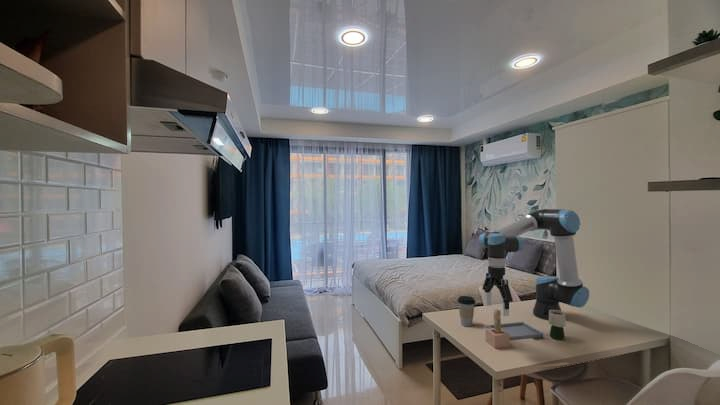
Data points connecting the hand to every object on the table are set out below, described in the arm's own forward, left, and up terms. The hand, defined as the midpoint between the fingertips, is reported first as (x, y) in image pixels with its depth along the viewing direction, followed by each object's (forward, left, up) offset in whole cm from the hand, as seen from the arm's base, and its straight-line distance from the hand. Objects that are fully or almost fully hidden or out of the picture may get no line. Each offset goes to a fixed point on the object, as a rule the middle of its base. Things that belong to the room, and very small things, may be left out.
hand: (496, 310), depth 148 cm
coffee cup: (+2, -26, -18) cm, 31 cm away
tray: (-16, -10, -17) cm, 26 cm away
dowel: (0, 0, -16) cm, 16 cm away
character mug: (-34, -2, -18) cm, 39 cm away
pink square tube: (0, 0, -17) cm, 17 cm away
